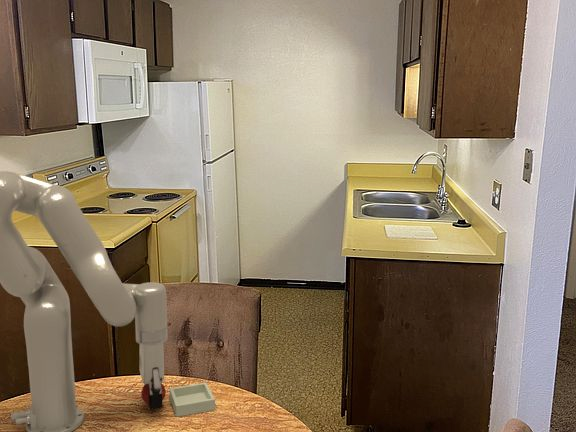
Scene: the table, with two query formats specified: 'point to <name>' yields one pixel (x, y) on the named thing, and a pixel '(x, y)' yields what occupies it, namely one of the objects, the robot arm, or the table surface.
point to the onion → (146, 391)
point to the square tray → (192, 399)
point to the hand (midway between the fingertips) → (153, 401)
